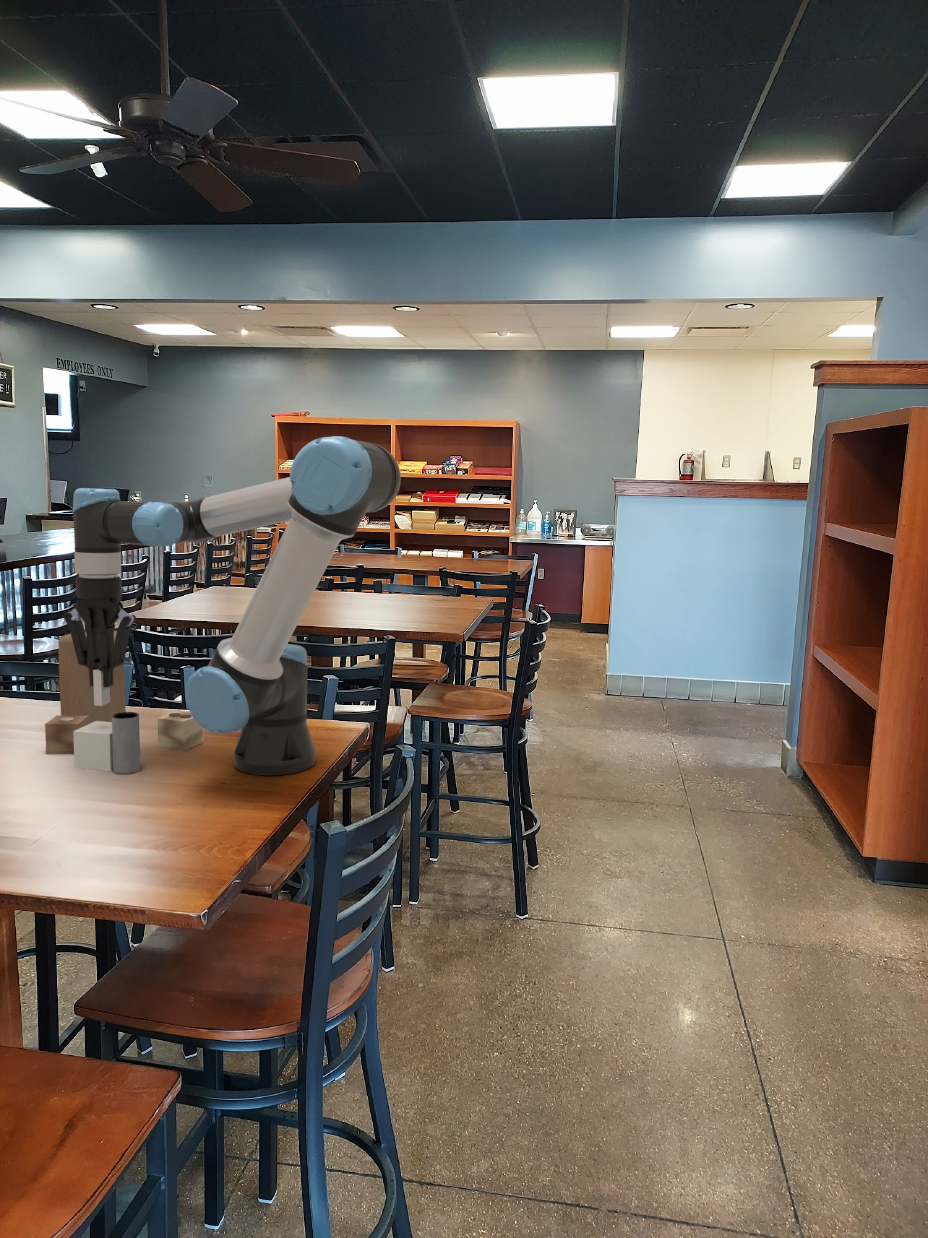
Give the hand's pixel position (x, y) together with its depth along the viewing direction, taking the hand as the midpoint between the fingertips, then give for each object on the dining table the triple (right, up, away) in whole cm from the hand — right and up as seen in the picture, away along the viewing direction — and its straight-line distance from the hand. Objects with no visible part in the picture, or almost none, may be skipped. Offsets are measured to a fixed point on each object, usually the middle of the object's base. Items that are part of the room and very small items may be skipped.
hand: (102, 703), depth 149 cm
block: (-13, -7, +25) cm, 29 cm away
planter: (+5, -12, -1) cm, 13 cm away
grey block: (0, -11, +2) cm, 12 cm away
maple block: (+9, -10, +14) cm, 20 cm away
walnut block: (-11, -10, +9) cm, 17 cm away
